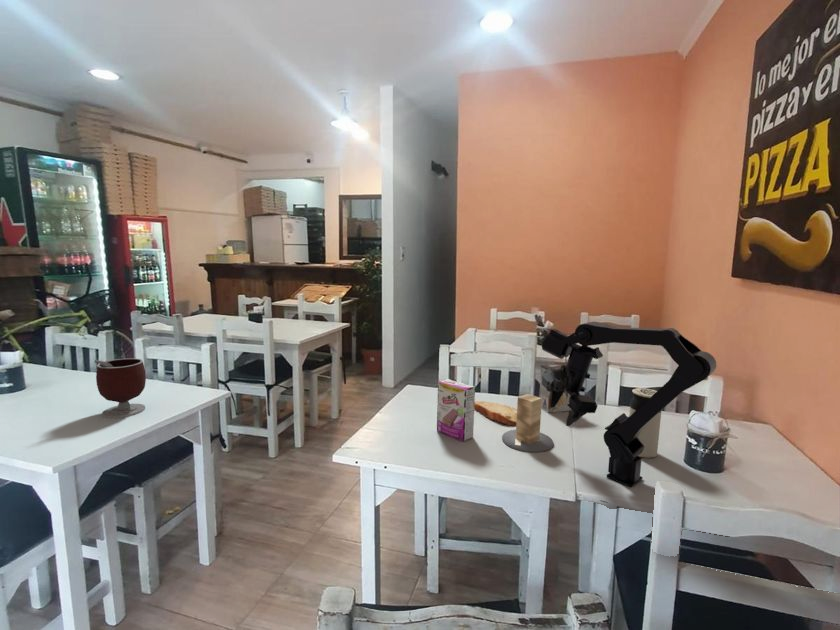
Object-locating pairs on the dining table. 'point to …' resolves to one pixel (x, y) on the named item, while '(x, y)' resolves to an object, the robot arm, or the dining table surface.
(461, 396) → the candy bar box
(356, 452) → the dining table surface
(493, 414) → the slice of bread
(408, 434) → the dining table surface
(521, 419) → the oak block
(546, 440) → the letter board
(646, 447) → the travel mug
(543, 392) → the coffee box
